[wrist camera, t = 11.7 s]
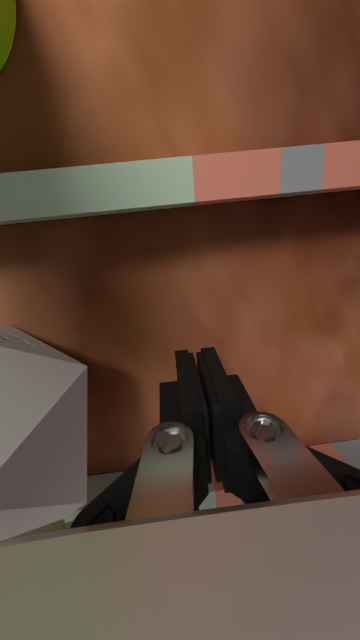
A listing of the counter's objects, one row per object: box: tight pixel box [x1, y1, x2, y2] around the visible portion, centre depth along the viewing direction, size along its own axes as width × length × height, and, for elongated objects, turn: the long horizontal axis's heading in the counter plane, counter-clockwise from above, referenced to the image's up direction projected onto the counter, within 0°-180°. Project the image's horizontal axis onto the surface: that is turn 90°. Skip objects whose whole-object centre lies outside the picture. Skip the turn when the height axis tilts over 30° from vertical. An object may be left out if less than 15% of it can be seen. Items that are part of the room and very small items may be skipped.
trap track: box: [0, 140, 360, 523], centre depth 12 cm, size 17×34×2 cm, turn 96°
